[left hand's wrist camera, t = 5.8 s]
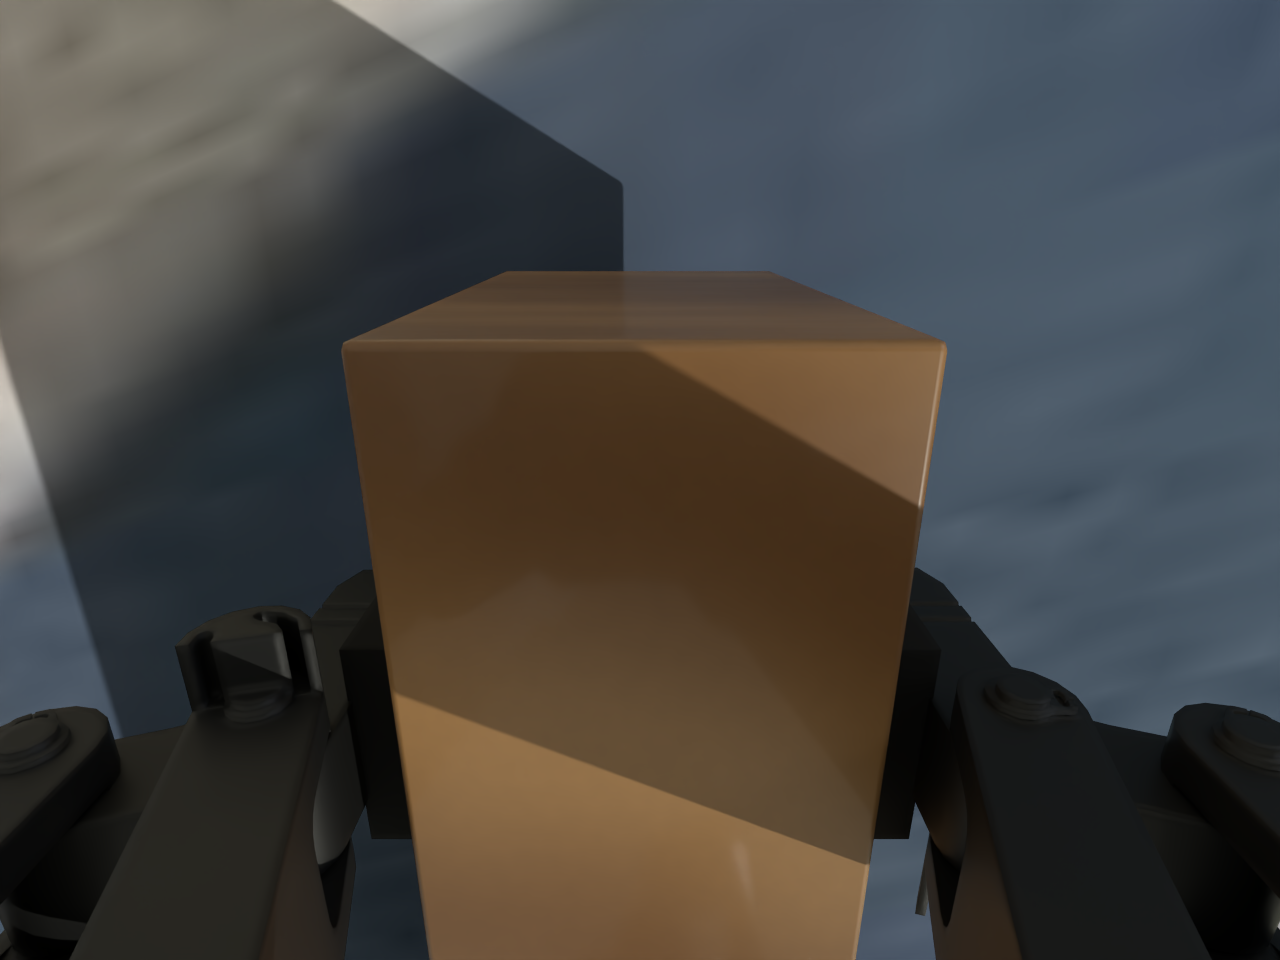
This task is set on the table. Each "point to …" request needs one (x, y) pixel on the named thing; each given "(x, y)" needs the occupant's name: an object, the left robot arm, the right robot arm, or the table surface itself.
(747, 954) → the post
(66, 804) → the left robot arm
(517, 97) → the table surface
